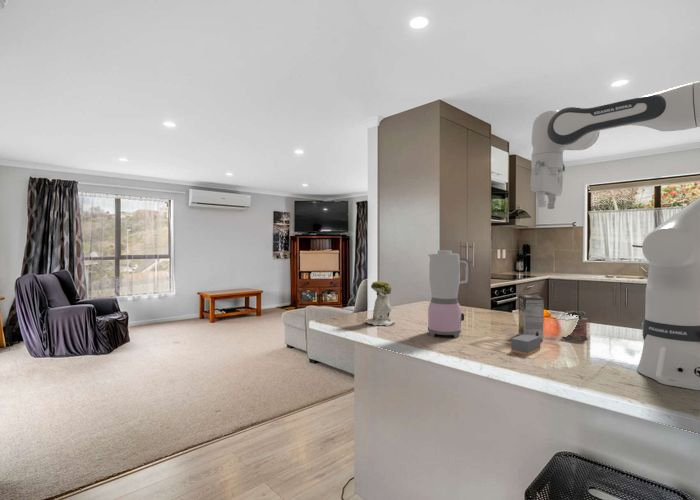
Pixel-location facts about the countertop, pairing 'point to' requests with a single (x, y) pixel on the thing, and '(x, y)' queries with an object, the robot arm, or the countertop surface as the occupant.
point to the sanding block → (525, 344)
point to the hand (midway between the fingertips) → (546, 208)
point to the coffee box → (531, 315)
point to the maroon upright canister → (578, 327)
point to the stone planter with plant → (381, 304)
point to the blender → (446, 293)
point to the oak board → (503, 346)
